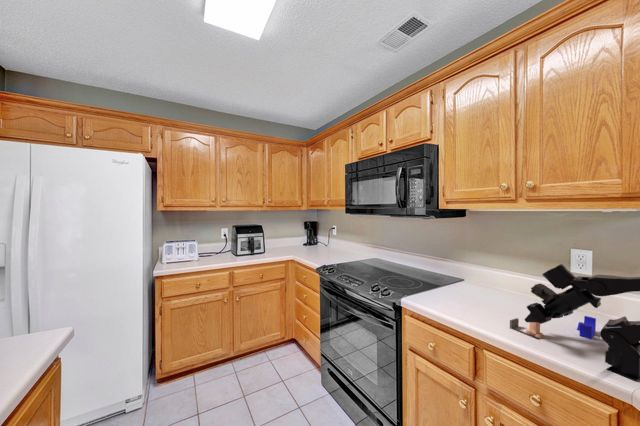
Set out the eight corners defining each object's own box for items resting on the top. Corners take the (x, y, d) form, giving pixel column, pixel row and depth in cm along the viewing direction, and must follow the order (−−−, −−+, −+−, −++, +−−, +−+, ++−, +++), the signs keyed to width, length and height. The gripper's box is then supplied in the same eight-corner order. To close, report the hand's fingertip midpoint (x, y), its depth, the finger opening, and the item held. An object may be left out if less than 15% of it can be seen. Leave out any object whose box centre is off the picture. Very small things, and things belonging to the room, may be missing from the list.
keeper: (543, 336, 95) (543, 312, 95) (538, 338, 94) (539, 313, 93) (530, 331, 99) (531, 308, 98) (526, 333, 97) (526, 309, 97)
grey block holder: (547, 341, 94) (547, 329, 94) (539, 344, 92) (539, 331, 92) (516, 329, 103) (517, 318, 103) (509, 331, 101) (509, 320, 101)
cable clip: (579, 329, 104) (579, 314, 104) (595, 333, 101) (595, 318, 101) (573, 338, 97) (574, 322, 97) (591, 343, 93) (591, 327, 93)
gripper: (563, 276, 96) (528, 296, 106) (534, 281, 88) (499, 302, 98) (591, 304, 89) (551, 323, 99) (562, 313, 81) (522, 332, 92)
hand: (530, 319), depth 97 cm, fingers open, 6 cm apart
